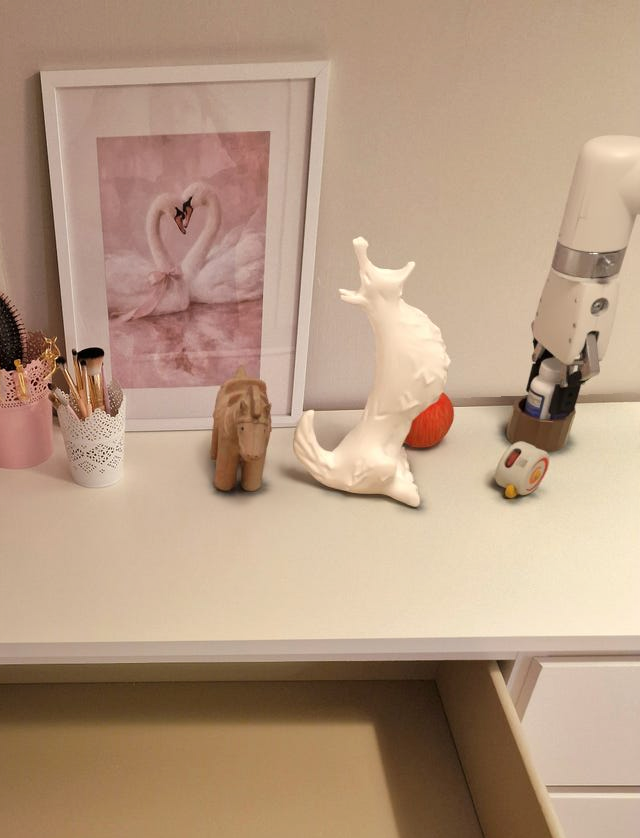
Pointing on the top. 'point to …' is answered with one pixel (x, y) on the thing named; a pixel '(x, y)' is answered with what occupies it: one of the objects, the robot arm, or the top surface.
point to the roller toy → (521, 469)
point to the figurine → (240, 431)
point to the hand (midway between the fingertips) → (549, 400)
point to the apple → (431, 424)
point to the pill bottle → (544, 389)
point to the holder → (538, 428)
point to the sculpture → (382, 391)
